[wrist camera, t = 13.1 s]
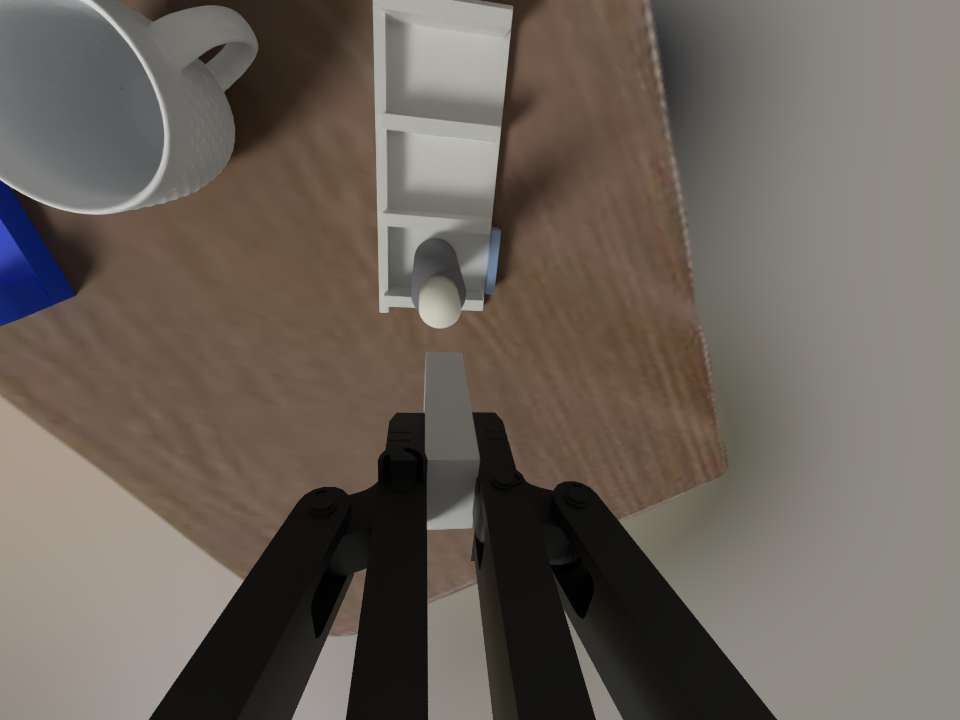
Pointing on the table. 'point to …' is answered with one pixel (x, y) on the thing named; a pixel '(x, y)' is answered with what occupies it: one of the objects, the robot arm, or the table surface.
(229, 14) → the mug
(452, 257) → the two-tone capped cylinder
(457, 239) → the white compartment tray
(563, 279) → the table surface
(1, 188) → the bracket
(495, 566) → the robot arm
